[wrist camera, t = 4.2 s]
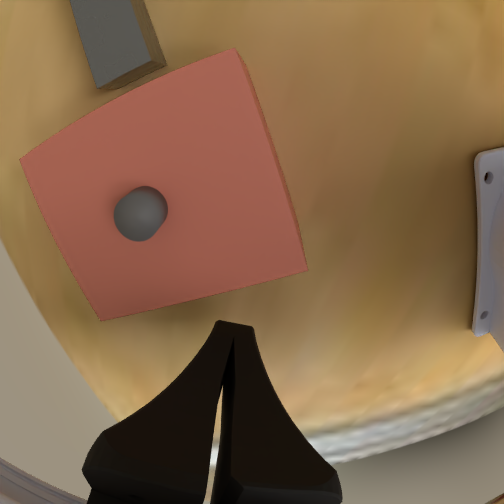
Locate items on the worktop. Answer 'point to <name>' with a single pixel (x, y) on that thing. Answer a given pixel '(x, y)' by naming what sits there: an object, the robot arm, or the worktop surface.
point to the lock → (169, 192)
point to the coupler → (117, 40)
